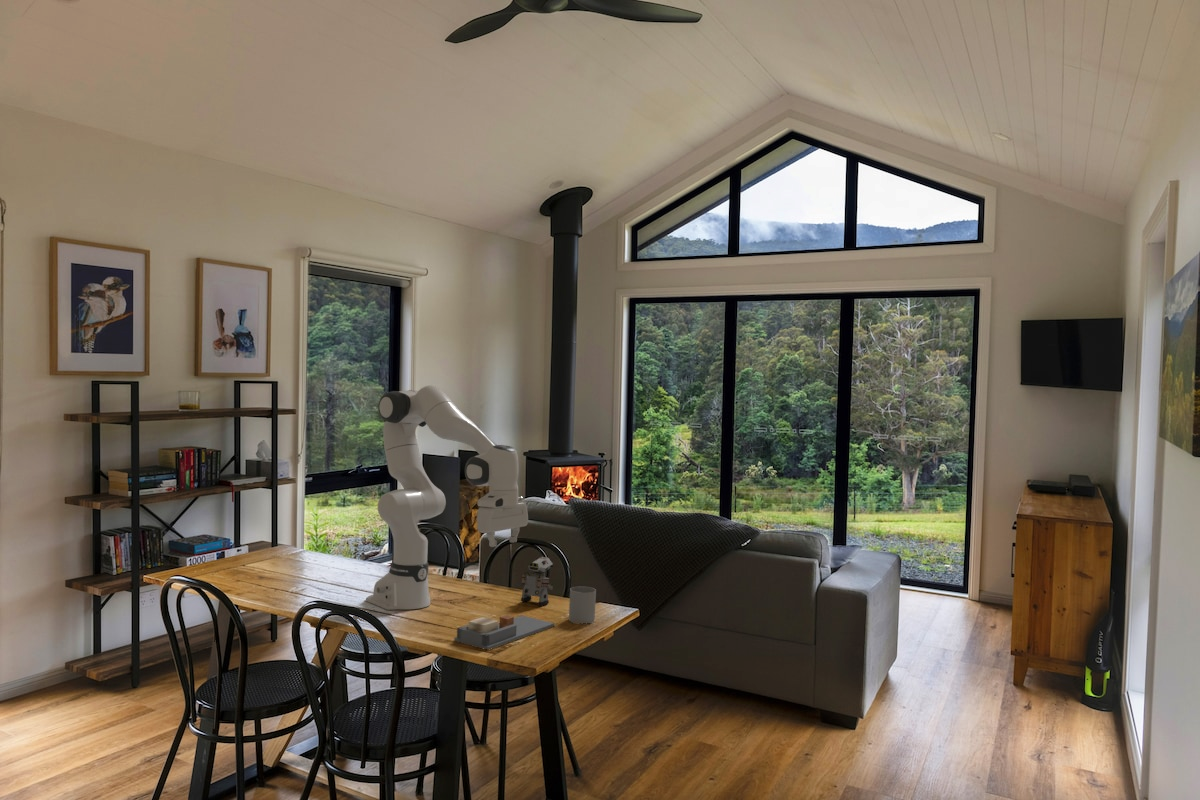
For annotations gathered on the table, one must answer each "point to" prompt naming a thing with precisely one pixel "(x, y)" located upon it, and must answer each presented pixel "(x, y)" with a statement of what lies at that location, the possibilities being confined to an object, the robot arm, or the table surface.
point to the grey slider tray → (502, 633)
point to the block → (490, 624)
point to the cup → (582, 604)
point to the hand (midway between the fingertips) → (503, 544)
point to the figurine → (537, 581)
